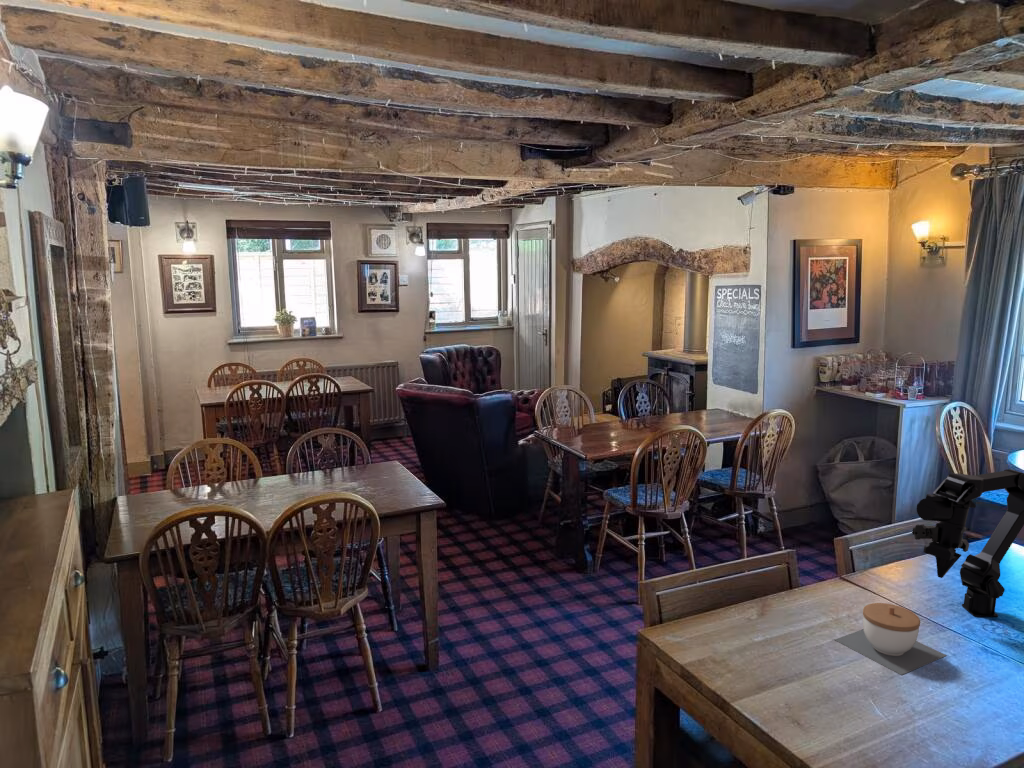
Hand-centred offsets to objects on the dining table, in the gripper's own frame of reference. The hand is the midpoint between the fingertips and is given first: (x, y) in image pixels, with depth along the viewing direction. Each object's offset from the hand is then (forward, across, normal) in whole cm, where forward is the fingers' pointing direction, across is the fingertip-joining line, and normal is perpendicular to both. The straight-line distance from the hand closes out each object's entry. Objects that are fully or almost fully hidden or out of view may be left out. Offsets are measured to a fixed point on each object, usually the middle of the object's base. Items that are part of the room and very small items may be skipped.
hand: (940, 577), depth 191 cm
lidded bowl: (+16, +24, -2) cm, 29 cm away
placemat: (+16, +23, -2) cm, 28 cm away
